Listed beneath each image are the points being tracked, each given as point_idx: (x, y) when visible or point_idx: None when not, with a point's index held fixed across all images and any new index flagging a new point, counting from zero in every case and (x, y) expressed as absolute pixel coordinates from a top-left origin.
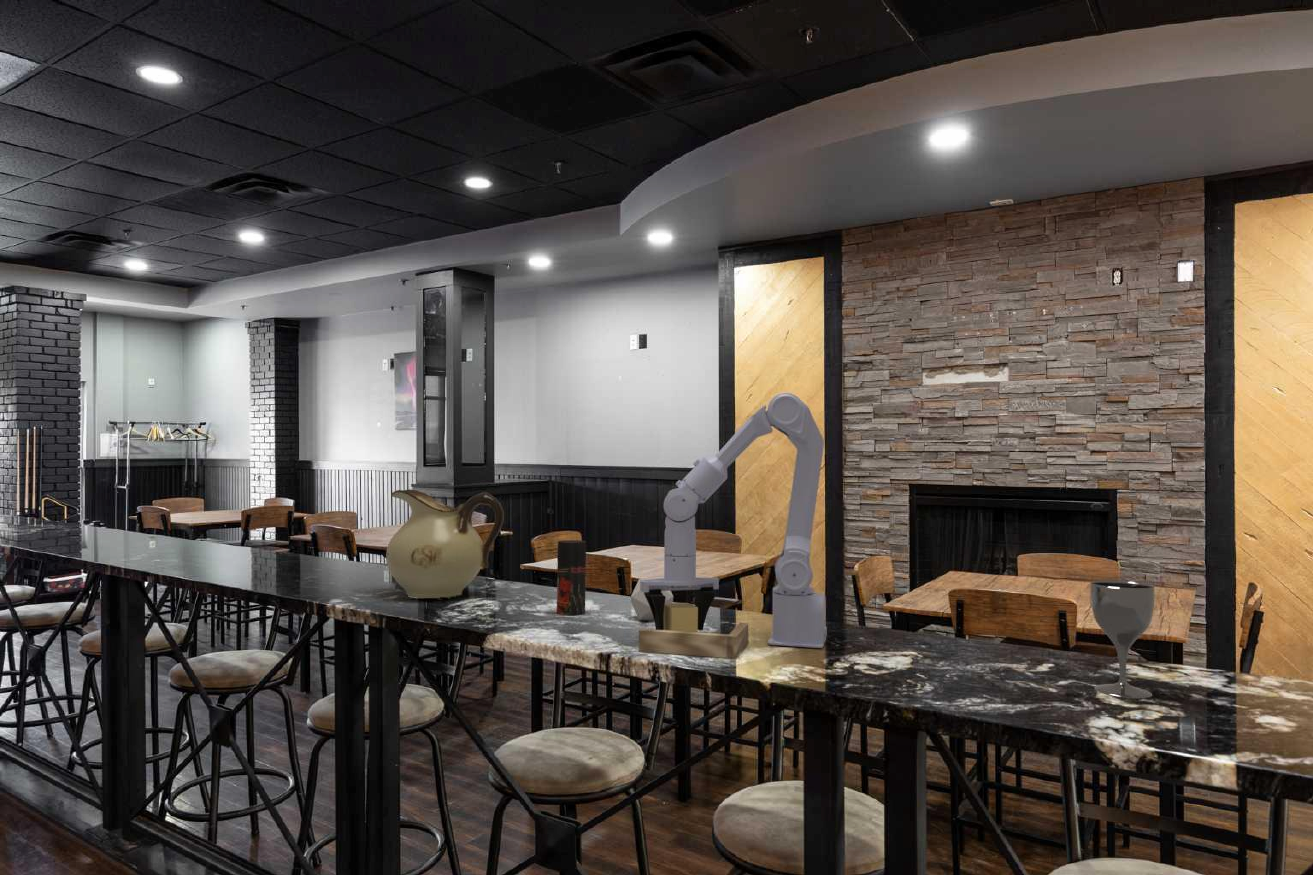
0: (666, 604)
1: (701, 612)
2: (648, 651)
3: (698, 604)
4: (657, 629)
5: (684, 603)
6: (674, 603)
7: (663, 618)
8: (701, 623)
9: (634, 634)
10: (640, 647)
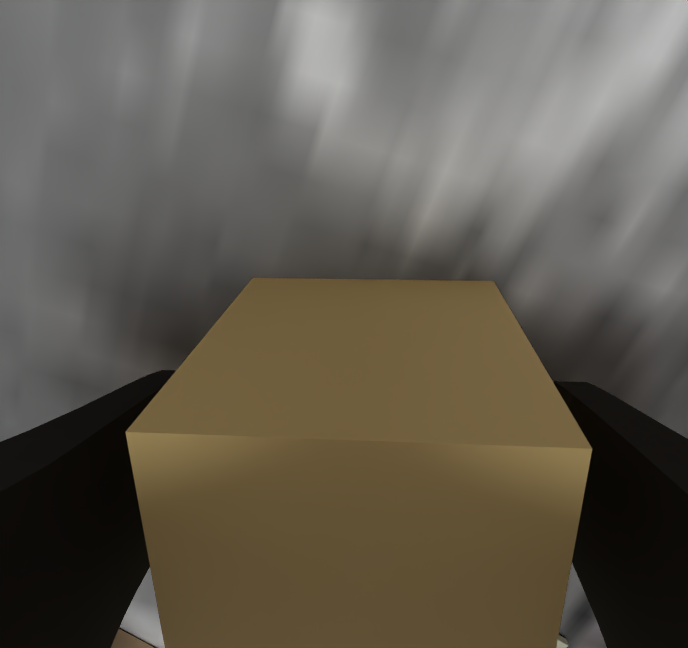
0: (186, 484)
1: (606, 628)
2: None
3: (663, 629)
4: None
5: (505, 489)
6: (342, 442)
7: (146, 571)
8: None
9: (33, 106)
10: None
